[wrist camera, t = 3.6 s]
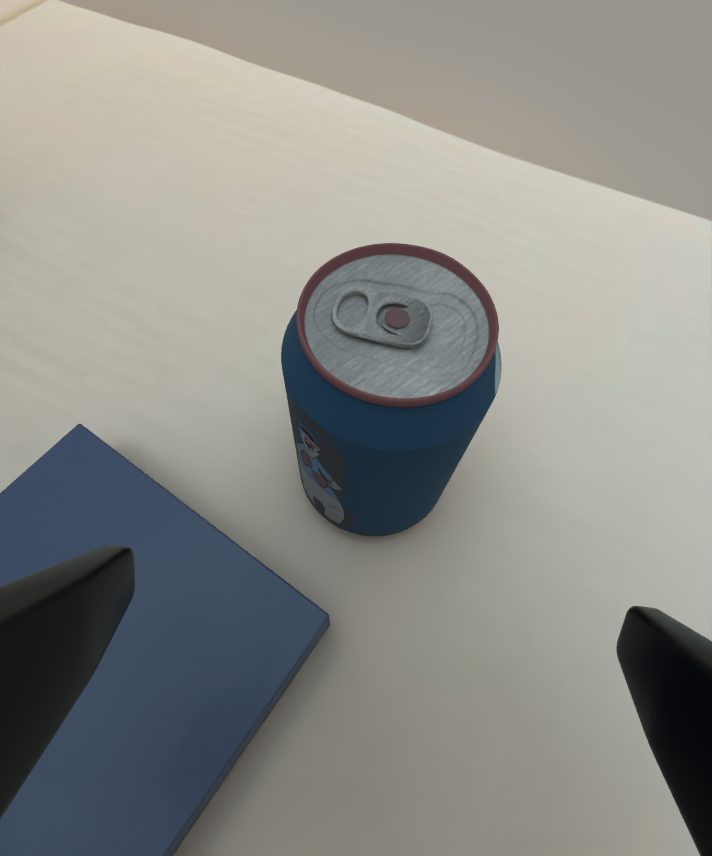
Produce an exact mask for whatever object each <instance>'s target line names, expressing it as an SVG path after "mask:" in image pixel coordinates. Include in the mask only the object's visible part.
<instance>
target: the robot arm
mask: <svg viewBox="0 0 712 856" xmlns="http://www.w3.org/2000/svg"><path fill="white" fill-rule="evenodd" d="M134 591H135V572H134V554H133V551H132V549H131V548H130V547H127V546H119V545H105V546H103V547H100V548H98V549H95V550H93V551H90V552H88V553H85V554H82V555H80V556H77V557H75V558H72V559H70V560H67V561H65V562H62V563H59V564H57V565H54V566H52V567H49V568H47V569H44V570H41V571H39V572H36V573H34V574H31V575H29V576H26V577H24V578H21V579H18V580H16V581H13V582H11V583H8V584H6V585H3V586H1V587H0V819H1V818H2V816H3V815H4V813H5V812H6V810H7V809H8V807H9V805H10V804H11V802H12V801H13V799H14V798H15V796H16V795H17V793H18V791H19V790H20V788H21V787H22V785H23V784H24V782H25V781H26V779H27V777H28V776H29V774H30V773H31V771H32V770H33V768H34V767H35V765H36V764H37V762H38V760H39V759H40V757H41V756H42V754H43V753H44V751H45V750H46V748H47V746H48V745H49V743H50V742H51V740H52V739H53V737H54V736H55V734H56V732H57V731H58V729H59V728H60V726H61V725H62V723H63V722H64V720H65V719H66V717H67V715H68V714H69V712H70V711H71V709H72V708H73V706H74V705H75V703H76V701H77V700H78V698H79V697H80V695H81V694H82V692H83V691H84V689H85V687H86V686H87V684H88V682H89V681H90V679H91V678H92V676H93V674H94V672H95V670H96V669H97V667H98V665H99V663H100V661H101V659H102V657H103V655H104V653H105V651H106V649H107V647H108V645H109V643H110V641H111V639H112V637H113V635H114V634H115V632H116V630H117V628H118V626H119V624H120V622H121V620H122V618H123V616H124V614H125V612H126V610H127V608H128V606H129V604H130V602H131V600H132V598H133V595H134ZM617 656H618V660H619V662H620V665H621V668H622V671H623V674H624V676H625V679H626V682H627V685H628V688H629V690H630V693H631V696H632V699H633V702H634V704H635V707H636V710H637V713H638V716H639V719H640V721H641V724H642V727H643V730H644V732H645V735H646V737H647V740H648V743H649V745H650V747H651V750H652V752H653V754H654V756H655V759H656V761H657V763H658V765H659V767H660V770H661V772H662V774H663V776H664V778H665V780H666V783H667V785H668V787H669V789H670V791H671V793H672V795H673V798H674V800H675V802H676V804H677V806H678V808H679V811H680V813H681V815H682V817H683V819H684V821H685V823H686V826H687V828H688V830H689V832H690V834H691V836H692V838H693V841H694V843H695V845H696V847H697V849H698V851H699V854H700V856H712V641H710V640H709V639H707V638H705V637H704V636H702V635H700V634H698V633H697V632H695V631H693V630H692V629H690V628H688V627H687V626H685V625H683V624H682V623H680V622H678V621H677V620H675V619H673V618H672V617H670V616H668V615H667V614H665V613H663V612H661V611H660V610H658V609H655V608H649V607H640V606H633V607H631V608H630V609H629V610H628V611H627V614H626V617H625V620H624V623H623V626H622V629H621V632H620V635H619V638H618V642H617Z"/></svg>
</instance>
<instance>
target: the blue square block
mask: <svg viewBox="0 0 712 856" xmlns="http://www.w3.org/2000/svg"><path fill="white" fill-rule="evenodd" d="M105 545H119V546H127V547H130V548H131V549H132V551H133V554H134V572H135V591H134V595H133V598H132V600H131V602H130V604H129V606H128V608H127V610H126V612H125V614H124V616H123V618H122V620H121V622H120V624H119V626H118V628H117V630H116V632H115V634H114V635H113V637H112V639H111V641H110V643H109V645H108V647H107V649H106V651H105V653H104V655H103V657H102V659H101V661H100V663H99V665H98V667H97V669H96V670H95V672H94V674H93V676H92V678H91V679H90V681H89V682H88V684H87V686H86V687H85V689H84V691H83V692H82V694H81V695H80V697H79V698H78V700H77V701H76V703H75V705H74V706H73V708H72V709H71V711H70V712H69V714H68V715H67V717H66V719H65V720H64V722H63V723H62V725H61V726H60V728H59V729H58V731H57V732H56V734H55V736H54V737H53V739H52V740H51V742H50V743H49V745H48V746H47V748H46V750H45V751H44V753H43V754H42V756H41V757H40V759H39V760H38V762H37V764H36V765H35V767H34V768H33V770H32V771H31V773H30V774H29V776H28V777H27V779H26V781H25V782H24V784H23V785H22V787H21V788H20V790H19V791H18V793H17V795H16V796H15V798H14V799H13V801H12V802H11V804H10V805H9V807H8V809H7V810H6V812H5V813H4V815H3V816H2V818H1V819H0V856H173V854H174V853H175V851H176V850H177V848H178V847H179V845H180V844H181V842H182V841H183V839H184V838H185V836H186V835H187V834H188V832H189V831H190V829H191V828H192V826H193V825H194V823H195V822H196V820H197V819H198V817H199V816H200V814H201V813H202V812H203V810H204V809H205V807H206V806H207V804H208V803H209V801H210V800H211V798H212V797H213V795H214V794H215V792H216V791H217V790H218V788H219V787H220V785H221V784H222V782H223V781H224V779H225V778H226V776H227V775H228V773H229V772H230V771H231V769H232V768H233V766H234V765H235V763H236V762H237V760H238V759H239V757H240V756H241V754H242V753H243V751H244V750H245V749H246V747H247V746H248V744H249V743H250V741H251V740H252V738H253V737H254V735H255V734H256V732H257V731H258V729H259V728H260V727H261V725H262V724H263V722H264V721H265V719H266V718H267V716H268V715H269V713H270V712H271V710H272V709H273V707H274V706H275V705H276V703H277V702H278V700H279V699H280V697H281V696H282V694H283V693H284V691H285V690H286V688H287V687H288V685H289V684H290V683H291V681H292V680H293V678H294V677H295V675H296V674H297V672H298V671H299V669H300V668H301V666H302V665H303V663H304V662H305V661H306V659H307V658H308V656H309V655H310V653H311V652H312V650H313V649H314V647H315V646H316V644H317V643H318V641H319V640H320V639H321V637H322V636H323V634H324V633H325V631H326V630H327V628H328V627H329V625H330V619H329V615H328V614H327V613H326V612H325V611H323V610H322V609H321V608H319V607H318V606H317V605H316V604H314V603H313V602H312V601H310V600H309V599H308V598H306V597H305V596H304V595H303V594H301V593H300V592H299V591H297V590H296V589H295V588H293V587H292V586H291V585H290V584H288V583H287V582H286V581H284V580H283V579H282V578H280V577H279V576H278V575H277V574H275V573H274V572H273V571H271V570H270V569H269V568H267V567H266V566H265V565H264V564H262V563H261V562H260V561H258V560H257V559H256V558H254V557H253V556H252V555H251V554H249V553H248V552H247V551H245V550H244V549H243V548H241V547H240V546H239V545H238V544H236V543H235V542H234V541H232V540H231V539H230V538H228V537H227V536H226V535H225V534H223V533H222V532H221V531H219V530H218V529H217V528H215V527H214V526H213V525H212V524H210V523H209V522H208V521H206V520H205V519H204V518H202V517H201V516H200V515H199V514H197V513H196V512H195V511H193V510H192V509H191V508H189V507H188V506H187V505H186V504H184V503H183V502H182V501H180V500H179V499H178V498H176V497H175V496H174V495H173V494H171V493H170V492H169V491H167V490H166V489H165V488H163V487H162V486H161V485H160V484H158V483H157V482H156V481H154V480H153V479H152V478H150V477H149V476H148V475H147V474H145V473H144V472H143V471H141V470H140V469H139V468H137V467H136V466H135V465H134V464H132V463H131V462H130V461H128V460H127V459H126V458H124V457H123V456H122V455H121V454H119V453H118V452H117V451H115V450H114V449H113V448H111V447H110V446H109V445H108V444H106V443H105V442H104V441H102V440H101V439H100V438H98V437H97V436H96V435H94V434H93V433H92V432H91V431H89V430H88V429H87V428H85V427H84V426H83V425H81V424H78V425H77V426H76V427H75V428H73V429H72V430H71V431H70V432H69V433H68V434H67V435H66V436H64V437H63V438H62V439H61V440H60V441H59V442H58V443H57V444H55V445H54V446H53V447H52V448H51V449H50V450H49V451H48V452H46V453H45V454H44V455H43V456H42V457H41V458H40V459H39V460H37V461H36V462H35V463H34V464H33V465H32V466H31V467H29V468H28V469H27V470H26V471H25V472H24V473H23V474H22V475H20V476H19V477H18V478H17V479H16V480H15V481H14V482H13V483H11V484H10V485H9V486H8V487H7V488H6V489H5V490H4V491H2V492H1V493H0V587H1V586H3V585H6V584H8V583H11V582H13V581H16V580H18V579H21V578H24V577H26V576H29V575H31V574H34V573H36V572H39V571H41V570H44V569H47V568H49V567H52V566H54V565H57V564H59V563H62V562H65V561H67V560H70V559H72V558H75V557H77V556H80V555H82V554H85V553H88V552H90V551H93V550H95V549H98V548H100V547H103V546H105Z"/></svg>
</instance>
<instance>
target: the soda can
mask: <svg viewBox="0 0 712 856" xmlns="http://www.w3.org/2000/svg"><path fill="white" fill-rule="evenodd" d="M498 333H499V325H498V317H497V312H496V309H495V306H494V303H493V301H492V299H491V297H490V295H489V293H488V292H487V290H486V289H485V287H484V286H483V284H482V283H481V282H480V281H479V280H478V279H477V278H476V276H475V275H474V274H472V273H471V272H470V271H469V270H468V269H467V268H466V267H464V266H463V265H462V264H460V263H459V262H458V261H456V260H454V259H453V258H451V257H449V256H447V255H445V254H443V253H440V252H438V251H435V250H432V249H428V248H425V247H420V246H415V245H408V244H398V243H384V244H373V245H367V246H363V247H359V248H355V249H352V250H349V251H347V252H344V253H342V254H340V255H338V256H336V257H334V258H333V259H331V260H330V261H328V262H327V263H325V264H324V265H323V266H322V267H320V268H319V269H318V270H317V271H316V272H315V273H314V275H313V276H312V277H311V278H310V280H309V281H308V282H307V284H306V286H305V287H304V289H303V291H302V293H301V296H300V299H299V302H298V307H297V310H296V312H295V313H294V315H293V317H292V318H291V320H290V322H289V324H288V326H287V329H286V332H285V335H284V338H283V343H282V352H281V362H282V370H283V376H284V381H285V387H286V393H287V399H288V405H289V411H290V417H291V423H292V429H293V435H294V441H295V446H296V452H297V458H298V464H299V470H300V476H301V481H302V485H303V488H304V490H305V493H306V495H307V497H308V499H309V500H310V502H311V503H312V505H313V506H314V507H315V509H316V510H317V511H318V512H319V513H320V514H321V515H322V516H323V517H324V518H326V519H327V520H328V521H329V522H331V523H332V524H334V525H336V526H337V527H339V528H341V529H344V530H346V531H349V532H352V533H355V534H360V535H366V536H383V535H390V534H394V533H398V532H401V531H403V530H406V529H408V528H410V527H412V526H413V525H415V524H417V523H418V522H419V521H421V520H422V519H423V518H424V517H425V516H426V515H427V514H428V513H429V512H430V511H431V510H432V509H433V507H434V506H435V504H436V503H437V501H438V499H439V498H440V496H441V494H442V492H443V490H444V488H445V487H446V485H447V483H448V481H449V479H450V478H451V476H452V474H453V472H454V470H455V469H456V467H457V465H458V463H459V461H460V460H461V458H462V456H463V454H464V452H465V451H466V449H467V447H468V445H469V443H470V442H471V440H472V438H473V436H474V434H475V433H476V431H477V429H478V427H479V425H480V424H481V422H482V420H483V418H484V416H485V415H486V413H487V411H488V409H489V407H490V406H491V404H492V402H493V400H494V398H495V396H496V393H497V390H498V387H499V383H500V378H501V354H500V349H499V345H498V341H497V340H498Z"/></svg>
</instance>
